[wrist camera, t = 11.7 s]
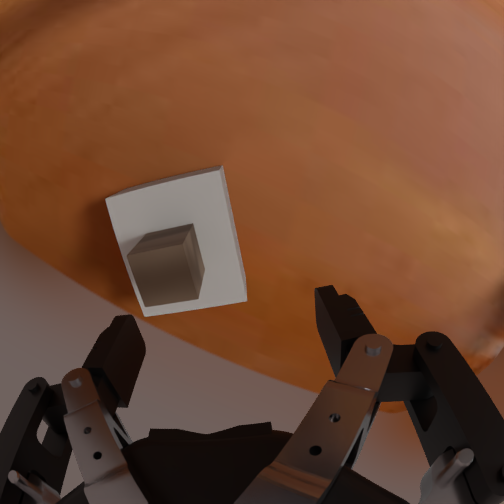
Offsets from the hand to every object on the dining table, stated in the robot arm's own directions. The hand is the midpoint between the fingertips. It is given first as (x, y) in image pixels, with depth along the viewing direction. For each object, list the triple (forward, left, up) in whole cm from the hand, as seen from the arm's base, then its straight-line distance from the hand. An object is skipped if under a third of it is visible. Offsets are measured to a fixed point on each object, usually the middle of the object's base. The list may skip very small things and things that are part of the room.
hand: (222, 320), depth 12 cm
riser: (+2, -6, -23) cm, 24 cm away
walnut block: (+2, -6, -17) cm, 18 cm away
